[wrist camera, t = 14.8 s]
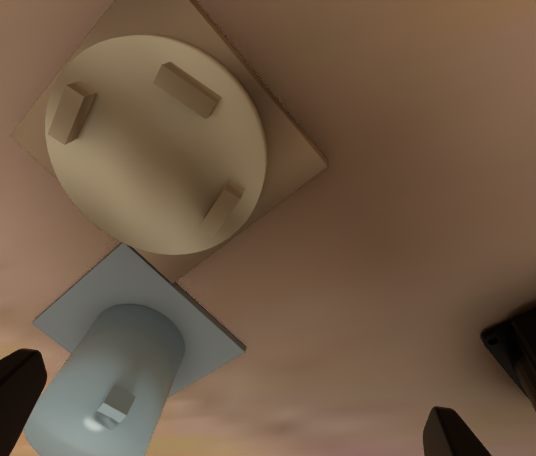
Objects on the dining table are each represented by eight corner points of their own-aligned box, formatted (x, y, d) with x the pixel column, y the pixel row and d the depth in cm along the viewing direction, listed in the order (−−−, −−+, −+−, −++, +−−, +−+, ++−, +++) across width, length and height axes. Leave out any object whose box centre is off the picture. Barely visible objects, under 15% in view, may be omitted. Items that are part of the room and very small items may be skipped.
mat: (246, 347, 26) (245, 352, 25) (147, 405, 30) (145, 410, 29) (126, 238, 23) (123, 242, 22) (35, 319, 27) (31, 323, 26)
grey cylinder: (133, 411, 30) (84, 516, 23) (59, 370, 28) (-13, 470, 22) (208, 333, 25) (171, 439, 19) (123, 280, 24) (54, 376, 18)
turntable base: (328, 160, 19) (328, 166, 19) (177, 275, 24) (172, 283, 23) (157, -44, 16) (150, -47, 16) (20, 131, 21) (9, 135, 20)
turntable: (201, 276, 22) (191, 299, 20) (31, 174, 20) (4, 189, 19) (311, 127, 18) (310, 140, 16) (104, -21, 16) (77, -25, 14)
